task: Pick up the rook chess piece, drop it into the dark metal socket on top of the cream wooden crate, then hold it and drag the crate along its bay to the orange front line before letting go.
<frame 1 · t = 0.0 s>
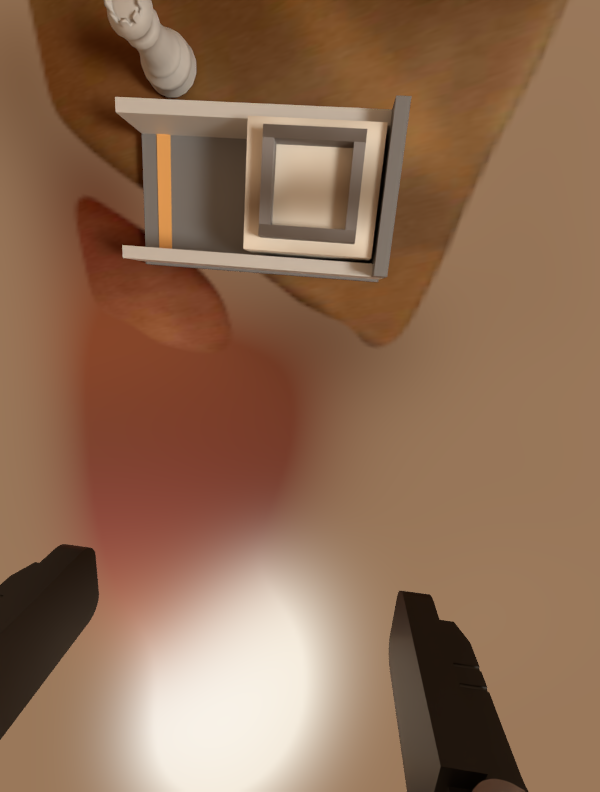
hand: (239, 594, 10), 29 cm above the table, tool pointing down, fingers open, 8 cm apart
rook chess piece: (174, 71, 32), on the table
crate bay: (264, 204, 34), on the table
crate: (312, 195, 30), point 4 cm above the table, slide at 0.0 cm
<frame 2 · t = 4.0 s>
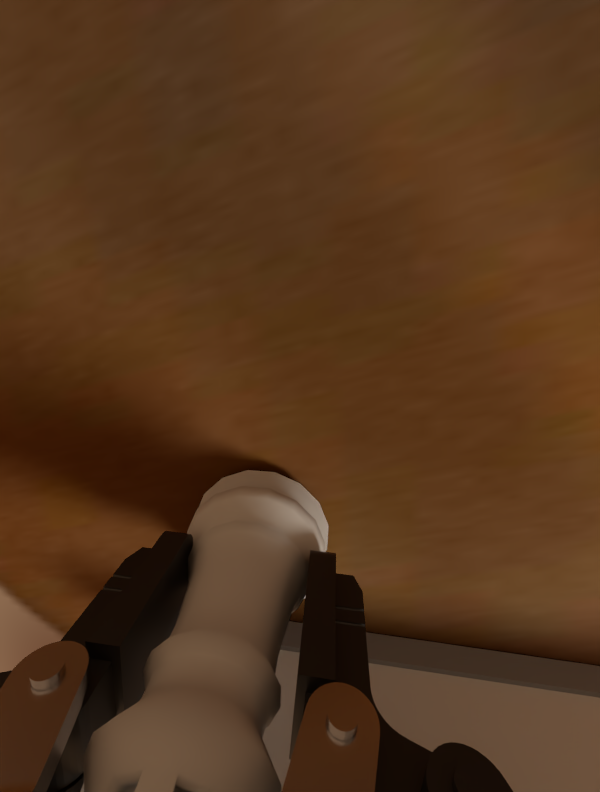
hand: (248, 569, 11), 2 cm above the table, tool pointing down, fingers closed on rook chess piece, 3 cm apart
rook chess piece: (264, 519, 13), on the table, touching gripper
crate bay: (461, 767, 15), on the table
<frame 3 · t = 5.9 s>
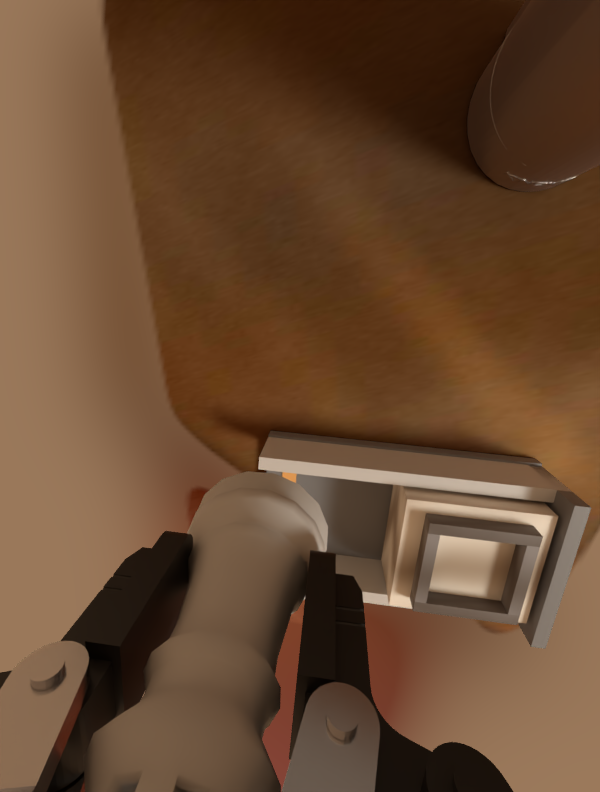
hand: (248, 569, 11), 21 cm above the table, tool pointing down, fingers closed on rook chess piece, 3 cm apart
rook chess piece: (264, 520, 13), point 19 cm above the table, touching gripper
crate bay: (389, 507, 33), on the table
crate: (460, 546, 28), point 4 cm above the table, slide at 0.0 cm
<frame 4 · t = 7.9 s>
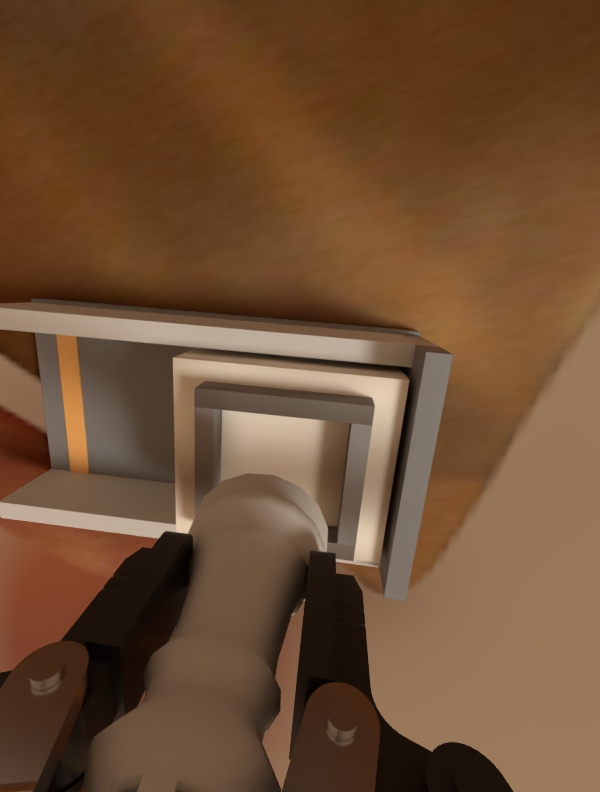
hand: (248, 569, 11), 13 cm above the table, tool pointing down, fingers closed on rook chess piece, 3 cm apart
rook chess piece: (264, 522, 13), point 10 cm above the table, touching gripper
crate bay: (221, 411, 23), on the table
crate: (287, 448, 19), point 4 cm above the table, slide at 0.0 cm
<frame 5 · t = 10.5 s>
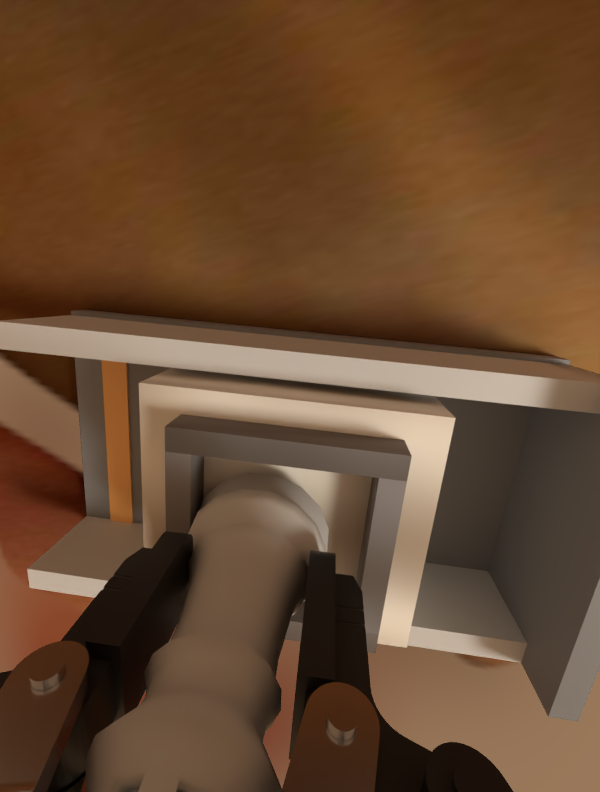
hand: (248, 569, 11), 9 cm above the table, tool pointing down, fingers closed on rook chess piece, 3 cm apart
rook chess piece: (265, 521, 13), point 6 cm above the table, touching crate, gripper
crate bay: (299, 450, 19), on the table
crate: (288, 495, 15), point 4 cm above the table, slide at 4.7 cm, touching rook chess piece
when the fingers open (9 cm above the table, at t = 12.2 s): rook chess piece stays where it is, resting on crate.
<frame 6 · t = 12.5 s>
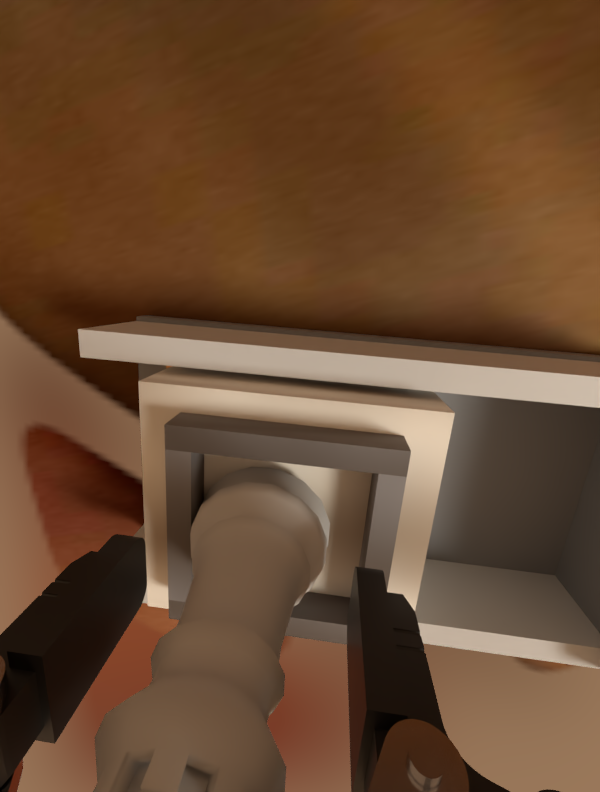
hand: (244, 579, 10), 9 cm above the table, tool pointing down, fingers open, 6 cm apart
rook chess piece: (267, 515, 13), point 6 cm above the table, touching crate
crate bay: (362, 455, 19), on the table
crate: (289, 493, 15), point 4 cm above the table, slide at 7.9 cm, touching rook chess piece
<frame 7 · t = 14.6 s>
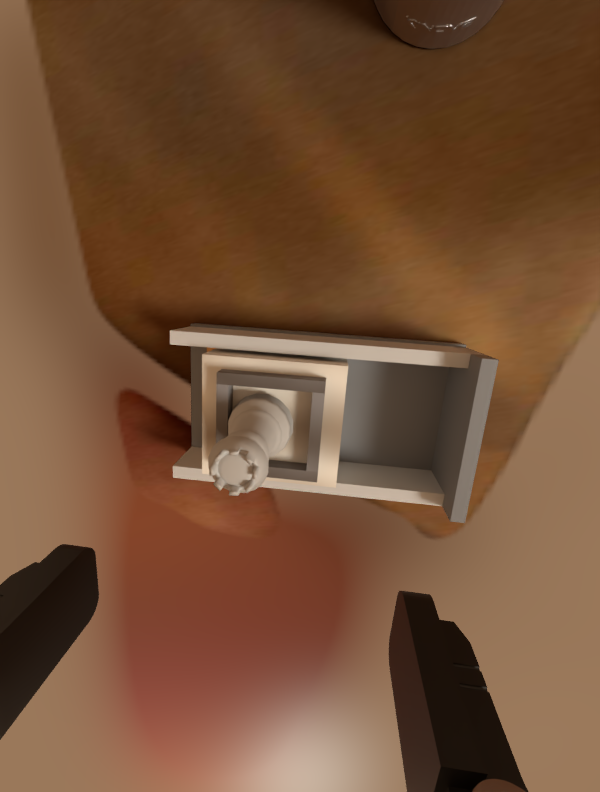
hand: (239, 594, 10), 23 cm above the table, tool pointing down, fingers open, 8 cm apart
rook chess piece: (263, 421, 27), point 6 cm above the table, touching crate
crate bay: (319, 402, 32), on the table
crate: (275, 414, 28), point 4 cm above the table, slide at 7.9 cm, touching rook chess piece
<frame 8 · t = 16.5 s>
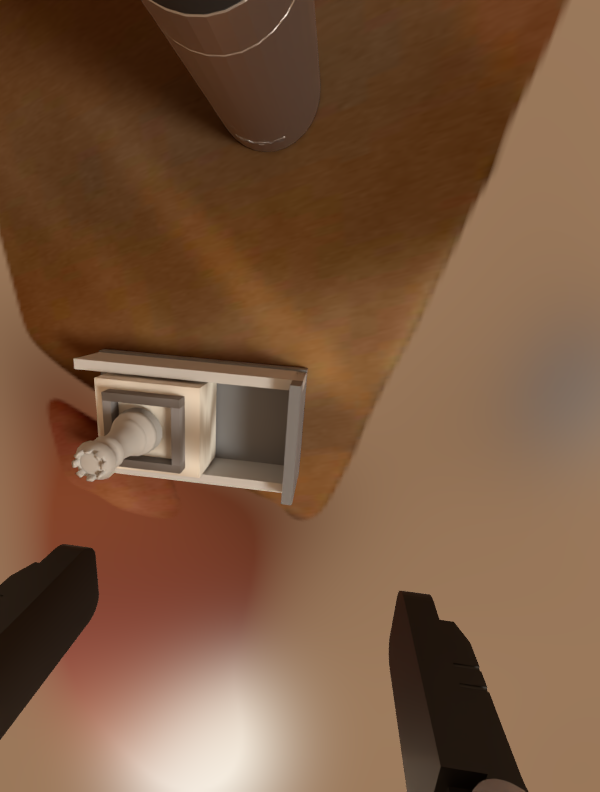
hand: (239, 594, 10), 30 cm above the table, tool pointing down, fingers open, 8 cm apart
rook chess piece: (143, 427, 35), point 6 cm above the table, touching crate
crate bay: (203, 412, 41), on the table
crate: (157, 422, 37), point 4 cm above the table, slide at 7.9 cm, touching rook chess piece
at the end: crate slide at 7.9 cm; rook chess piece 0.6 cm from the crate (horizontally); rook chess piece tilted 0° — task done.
